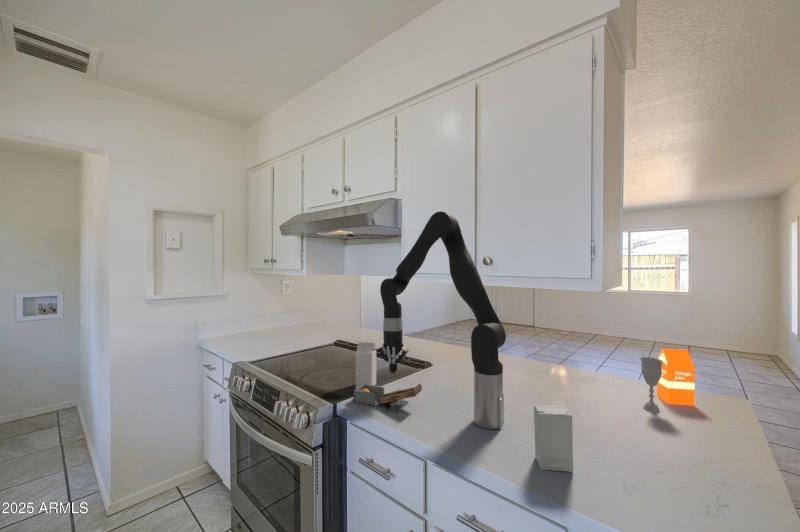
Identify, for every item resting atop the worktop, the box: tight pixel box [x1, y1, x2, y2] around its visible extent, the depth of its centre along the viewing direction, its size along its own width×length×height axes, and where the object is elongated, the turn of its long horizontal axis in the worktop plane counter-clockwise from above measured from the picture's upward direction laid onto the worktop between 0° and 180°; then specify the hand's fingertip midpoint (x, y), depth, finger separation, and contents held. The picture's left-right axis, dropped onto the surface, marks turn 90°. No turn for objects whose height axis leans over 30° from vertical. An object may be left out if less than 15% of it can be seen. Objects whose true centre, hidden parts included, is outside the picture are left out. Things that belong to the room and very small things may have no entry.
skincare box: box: [533, 404, 574, 473], centre depth 87 cm, size 8×6×15 cm
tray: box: [352, 384, 385, 407], centre depth 128 cm, size 9×8×4 cm
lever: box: [377, 383, 423, 405], centre depth 125 cm, size 17×12×2 cm
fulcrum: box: [384, 399, 409, 413], centre depth 123 cm, size 5×9×3 cm, turn 154°
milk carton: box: [355, 341, 377, 389], centre depth 143 cm, size 7×7×19 cm
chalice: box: [639, 356, 663, 414], centre depth 120 cm, size 7×7×18 cm
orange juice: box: [656, 348, 695, 407], centre depth 129 cm, size 8×9×20 cm
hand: (393, 372), depth 131 cm, fingers closed
